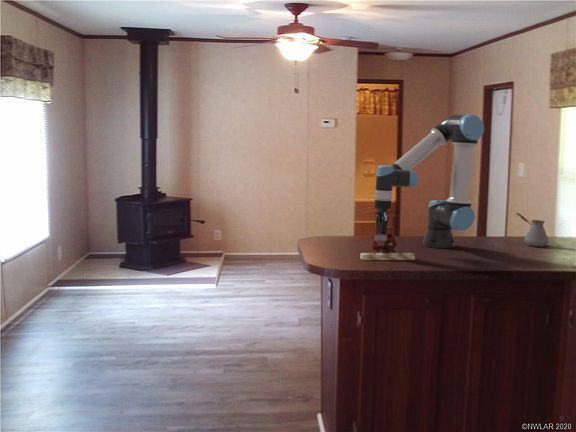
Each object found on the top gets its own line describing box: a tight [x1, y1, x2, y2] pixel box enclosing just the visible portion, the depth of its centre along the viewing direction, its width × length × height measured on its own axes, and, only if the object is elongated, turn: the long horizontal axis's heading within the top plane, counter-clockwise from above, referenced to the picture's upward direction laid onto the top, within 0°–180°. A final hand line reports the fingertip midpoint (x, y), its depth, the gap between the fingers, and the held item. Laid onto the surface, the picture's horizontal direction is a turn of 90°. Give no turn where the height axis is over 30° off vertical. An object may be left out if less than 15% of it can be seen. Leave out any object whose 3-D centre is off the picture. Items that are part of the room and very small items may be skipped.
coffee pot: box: [514, 212, 549, 247], centre depth 308 cm, size 21×12×15 cm, turn 21°
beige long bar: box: [359, 252, 416, 261], centre depth 263 cm, size 24×3×3 cm, turn 98°
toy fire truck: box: [370, 232, 398, 253], centre depth 268 cm, size 7×12×10 cm, turn 104°
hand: (379, 250), depth 273 cm, fingers closed
